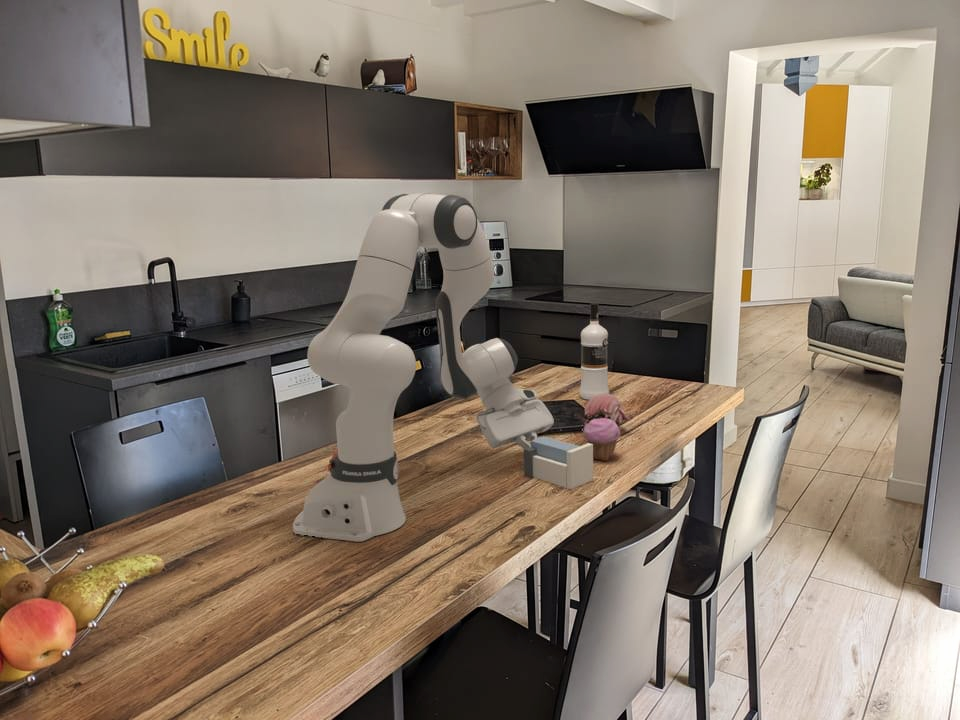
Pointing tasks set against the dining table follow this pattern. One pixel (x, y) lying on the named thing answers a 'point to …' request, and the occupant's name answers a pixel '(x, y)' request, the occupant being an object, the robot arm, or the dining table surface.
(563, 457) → the grey rectangular box
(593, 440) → the cupcake
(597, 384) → the vodka
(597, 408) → the toy
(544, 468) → the frame
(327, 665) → the dining table surface
